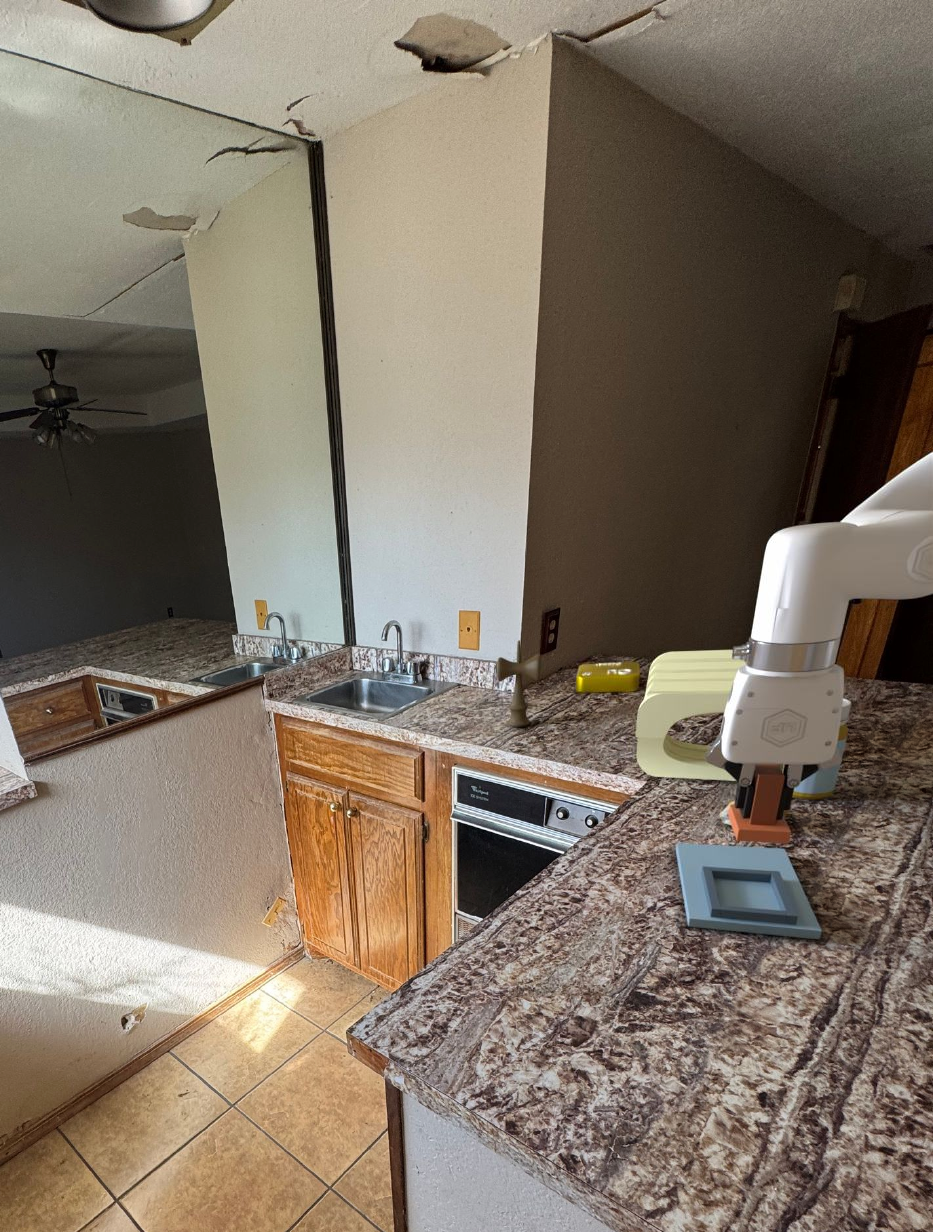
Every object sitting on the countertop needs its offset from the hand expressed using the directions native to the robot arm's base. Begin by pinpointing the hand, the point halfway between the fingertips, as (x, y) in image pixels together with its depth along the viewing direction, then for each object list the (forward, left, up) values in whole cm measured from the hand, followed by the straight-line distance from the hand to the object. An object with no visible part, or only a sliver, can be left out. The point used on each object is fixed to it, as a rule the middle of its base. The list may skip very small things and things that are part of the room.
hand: (760, 813), depth 75 cm
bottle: (-14, -37, -13) cm, 41 cm away
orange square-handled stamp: (0, 0, -2) cm, 2 cm away
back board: (0, -4, -13) cm, 13 cm away
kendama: (+35, -74, -13) cm, 83 cm away
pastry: (-5, -25, -13) cm, 29 cm away
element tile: (+16, -108, -13) cm, 110 cm away
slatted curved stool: (+3, -49, -13) cm, 50 cm away
